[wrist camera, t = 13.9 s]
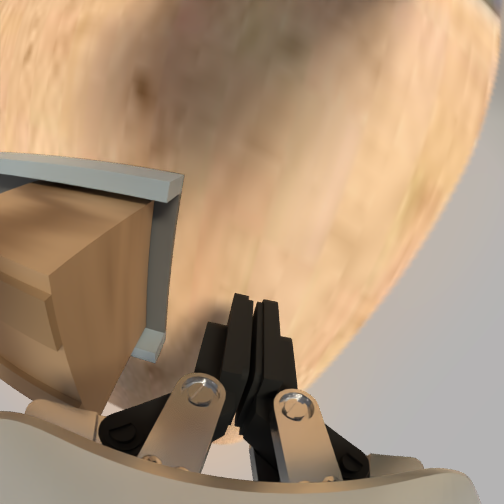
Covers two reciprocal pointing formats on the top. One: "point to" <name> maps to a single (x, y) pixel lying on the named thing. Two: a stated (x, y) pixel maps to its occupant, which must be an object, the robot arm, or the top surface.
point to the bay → (124, 182)
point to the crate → (71, 289)
